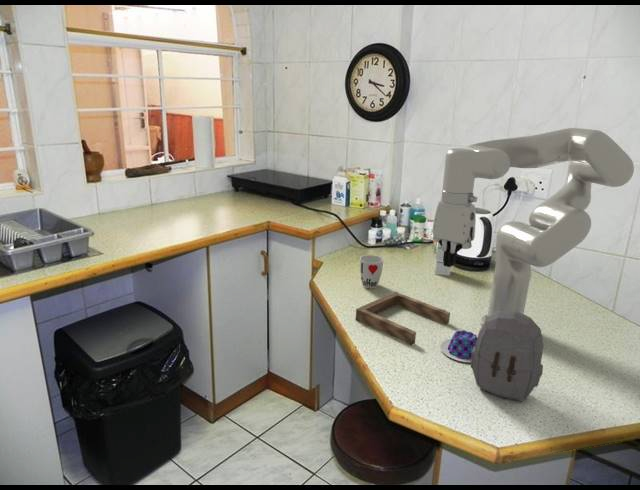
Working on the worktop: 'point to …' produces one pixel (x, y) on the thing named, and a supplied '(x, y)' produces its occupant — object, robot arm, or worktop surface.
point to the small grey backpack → (508, 355)
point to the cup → (370, 270)
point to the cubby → (370, 318)
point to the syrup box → (441, 262)
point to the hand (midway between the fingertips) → (449, 265)
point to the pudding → (460, 345)
